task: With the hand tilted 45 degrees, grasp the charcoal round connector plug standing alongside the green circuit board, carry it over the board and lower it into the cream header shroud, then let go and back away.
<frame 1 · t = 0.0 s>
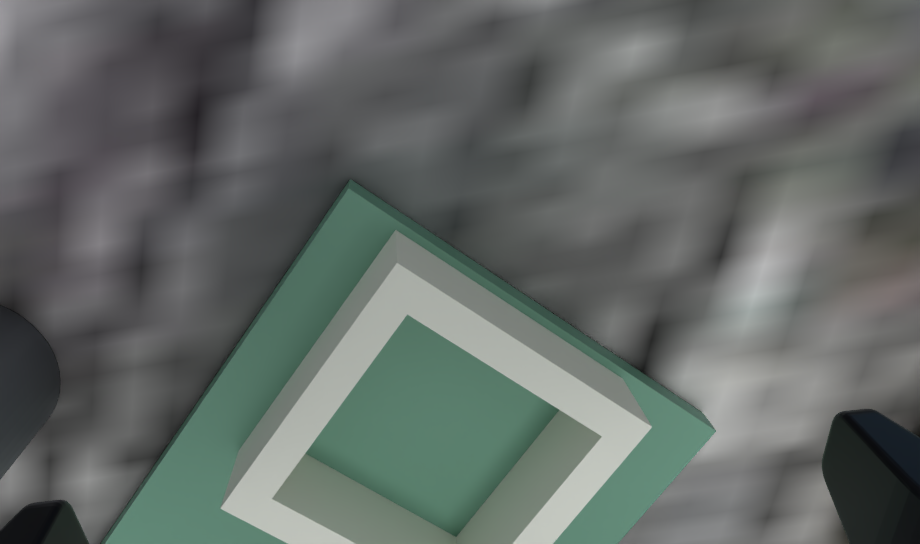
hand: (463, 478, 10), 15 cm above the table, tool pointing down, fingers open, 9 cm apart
header board: (430, 396, 27), on the table
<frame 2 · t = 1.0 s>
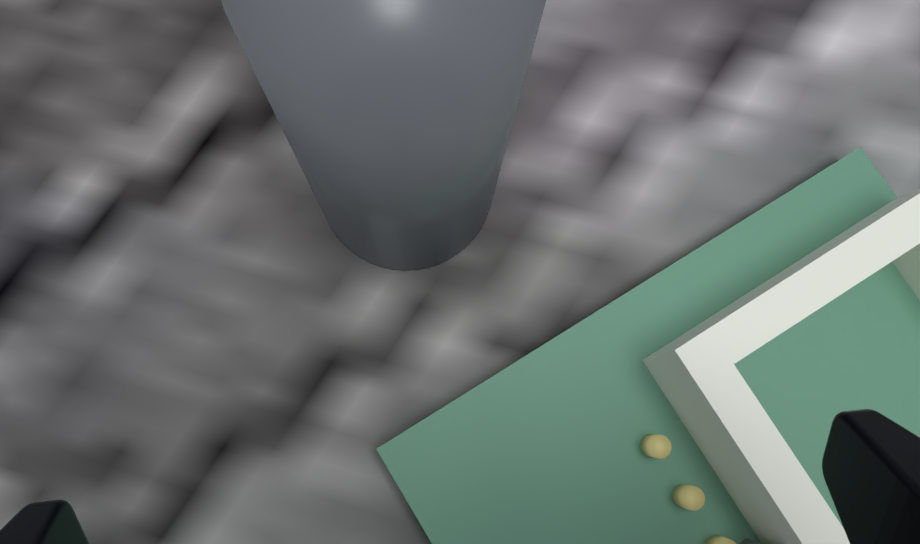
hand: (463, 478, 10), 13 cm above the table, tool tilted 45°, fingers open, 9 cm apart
header board: (838, 413, 23), on the table
plug: (406, 186, 24), on the table
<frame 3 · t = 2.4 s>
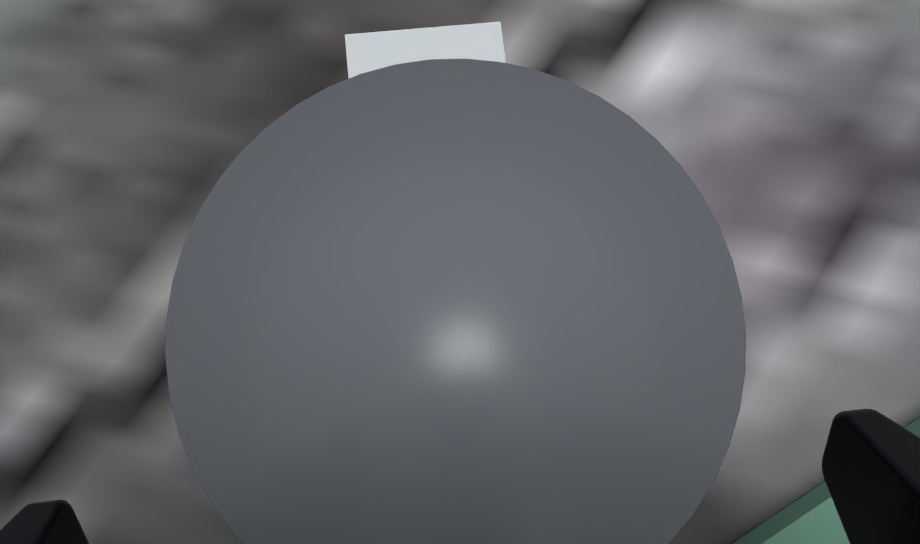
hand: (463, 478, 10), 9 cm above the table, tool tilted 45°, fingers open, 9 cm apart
plug: (441, 402, 19), on the table
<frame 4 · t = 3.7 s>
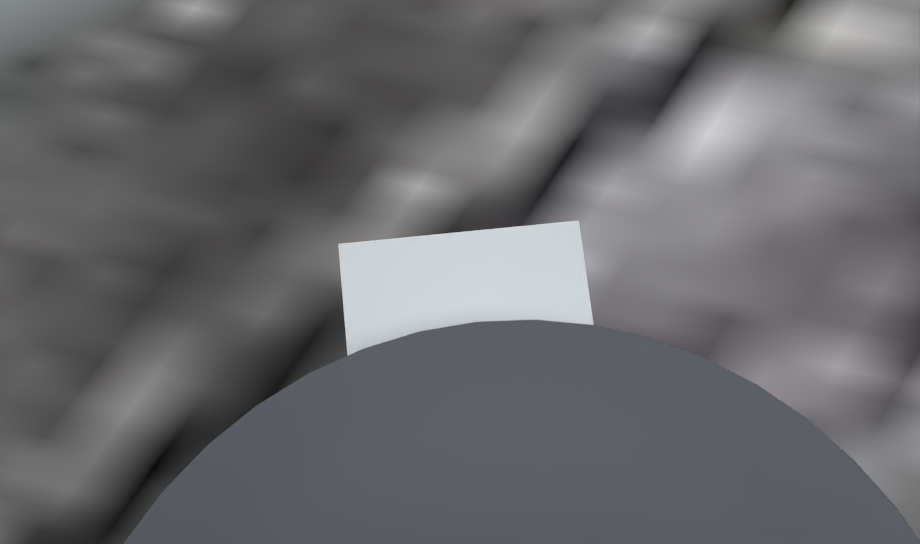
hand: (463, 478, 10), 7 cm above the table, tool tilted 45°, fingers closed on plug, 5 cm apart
plug: (458, 537, 16), on the table, touching gripper
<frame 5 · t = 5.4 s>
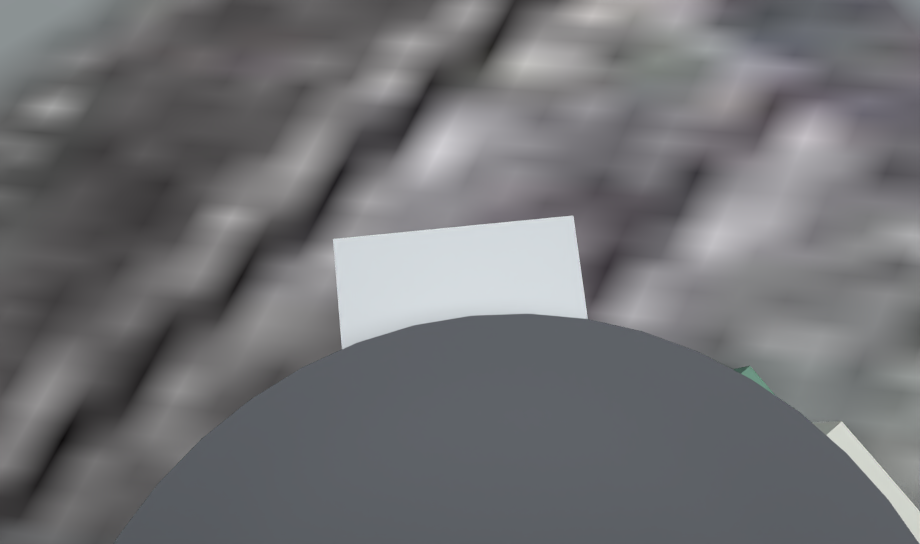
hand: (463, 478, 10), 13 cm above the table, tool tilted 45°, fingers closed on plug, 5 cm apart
plug: (456, 535, 16), point 7 cm above the table, touching gripper
when the fingers open (9 cm above the table, at t = 7.4 s): plug drops 2 cm, resting on header board.
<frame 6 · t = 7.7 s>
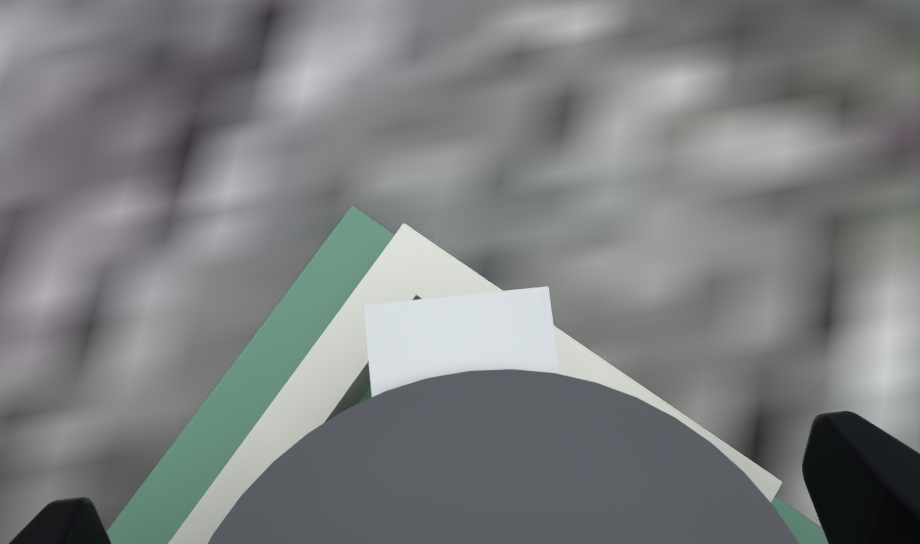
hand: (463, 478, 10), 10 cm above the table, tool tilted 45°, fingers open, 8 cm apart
header board: (453, 522, 19), on the table
plug: (455, 529, 18), point 1 cm above the table, touching header board
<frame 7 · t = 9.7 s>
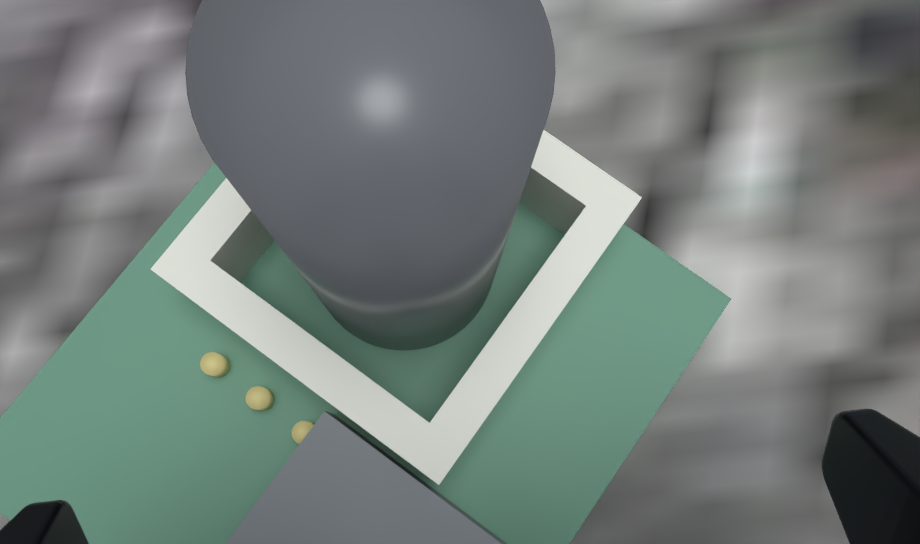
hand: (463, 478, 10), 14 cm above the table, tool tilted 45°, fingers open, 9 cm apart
header board: (406, 268, 24), on the table
plug: (404, 260, 23), point 1 cm above the table, touching header board
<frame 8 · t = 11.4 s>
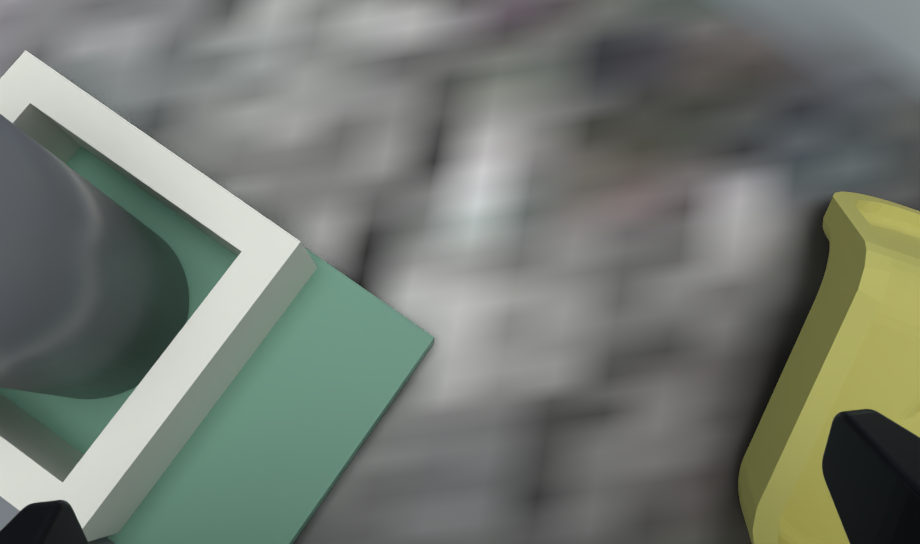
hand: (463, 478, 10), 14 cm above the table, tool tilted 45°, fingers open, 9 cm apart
header board: (113, 311, 23), on the table
plug: (95, 305, 22), point 1 cm above the table, touching header board
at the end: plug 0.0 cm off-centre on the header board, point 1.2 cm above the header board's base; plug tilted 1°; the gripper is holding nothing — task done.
